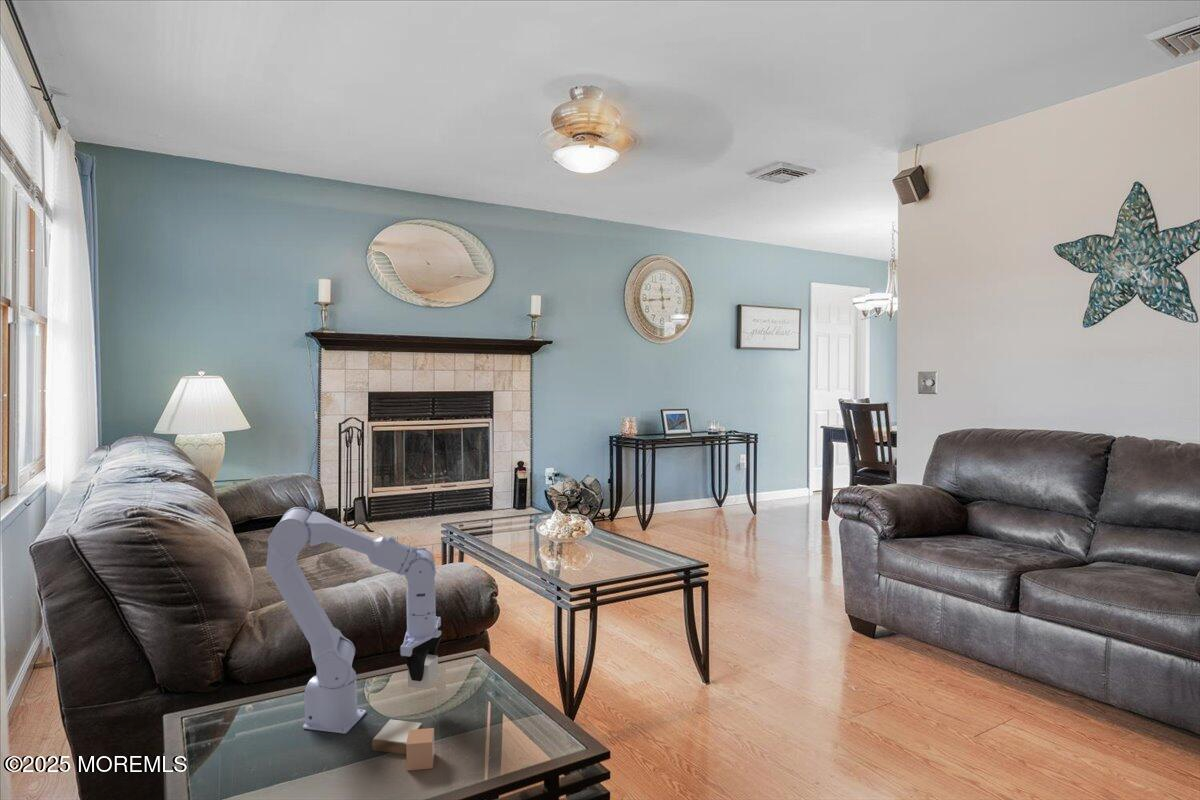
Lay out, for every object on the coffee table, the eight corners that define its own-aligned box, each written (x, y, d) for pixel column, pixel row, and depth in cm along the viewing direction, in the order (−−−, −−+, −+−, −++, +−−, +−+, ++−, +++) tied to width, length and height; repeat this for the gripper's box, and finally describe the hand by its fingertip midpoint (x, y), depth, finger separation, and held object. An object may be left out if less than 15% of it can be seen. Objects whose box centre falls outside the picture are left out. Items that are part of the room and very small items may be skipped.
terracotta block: (406, 770, 125) (406, 744, 125) (409, 755, 130) (409, 729, 129) (432, 768, 126) (432, 742, 125) (434, 753, 130) (433, 727, 130)
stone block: (408, 686, 142) (407, 663, 142) (417, 676, 147) (417, 653, 146) (428, 689, 141) (428, 665, 141) (438, 678, 146) (437, 655, 145)
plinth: (372, 751, 131) (371, 739, 131) (390, 730, 138) (389, 718, 138) (407, 756, 130) (406, 743, 130) (423, 734, 137) (423, 722, 137)
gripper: (424, 626, 135) (425, 694, 136) (453, 598, 149) (454, 659, 150) (390, 623, 136) (391, 690, 137) (422, 595, 150) (423, 656, 152)
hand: (422, 673), depth 144 cm, fingers closed on stone block, 4 cm apart
